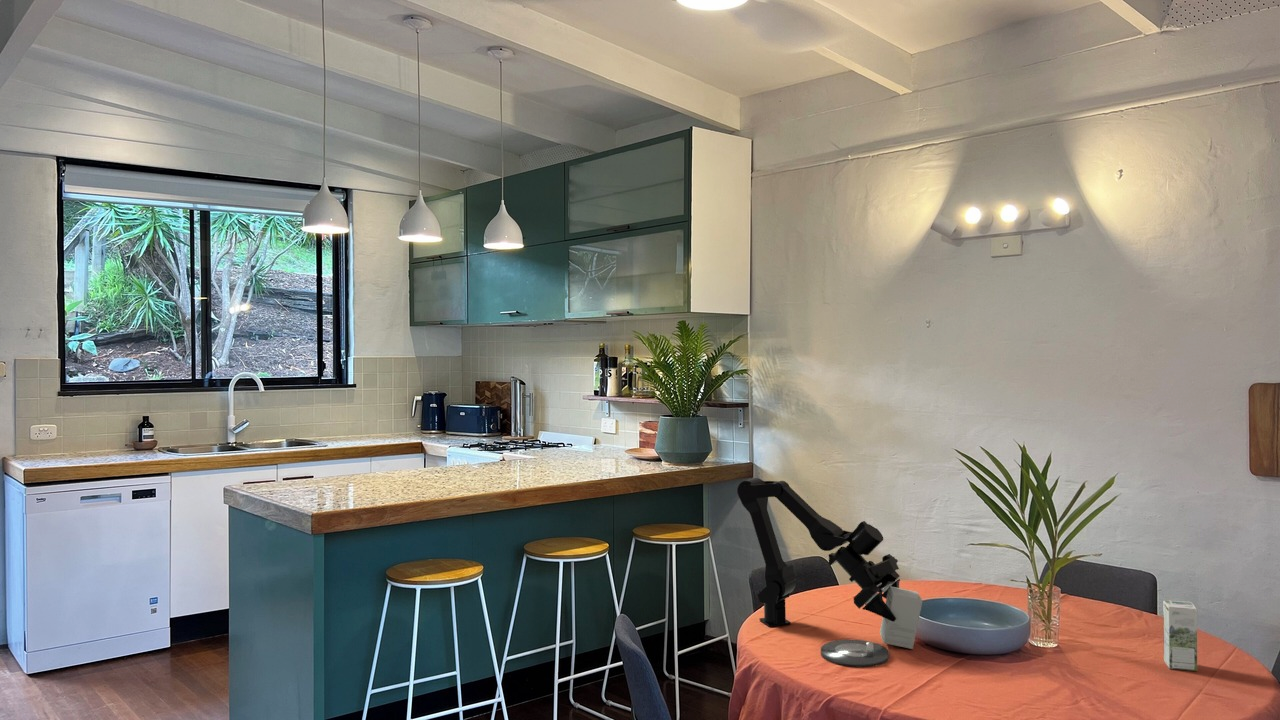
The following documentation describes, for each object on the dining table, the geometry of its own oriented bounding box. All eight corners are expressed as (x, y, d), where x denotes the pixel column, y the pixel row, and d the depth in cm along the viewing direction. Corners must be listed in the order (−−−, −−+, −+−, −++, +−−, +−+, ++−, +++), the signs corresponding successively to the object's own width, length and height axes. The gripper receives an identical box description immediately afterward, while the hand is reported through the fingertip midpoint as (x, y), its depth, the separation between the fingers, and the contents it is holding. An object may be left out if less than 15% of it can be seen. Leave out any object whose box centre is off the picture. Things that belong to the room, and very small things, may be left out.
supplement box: (908, 639, 227) (918, 591, 227) (913, 650, 220) (923, 600, 219) (878, 633, 228) (888, 584, 228) (882, 643, 221) (892, 593, 220)
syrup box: (1191, 663, 207) (1190, 600, 207) (1198, 672, 202) (1197, 607, 201) (1163, 660, 209) (1162, 598, 209) (1169, 669, 204) (1168, 605, 203)
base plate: (807, 651, 220) (806, 633, 220) (856, 640, 228) (855, 622, 228) (852, 671, 206) (852, 652, 206) (903, 658, 214) (903, 639, 214)
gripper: (863, 554, 219) (910, 604, 213) (890, 538, 234) (934, 585, 228) (834, 583, 223) (879, 633, 217) (862, 566, 239) (905, 612, 232)
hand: (901, 615), depth 224 cm, fingers closed on supplement box, 9 cm apart
